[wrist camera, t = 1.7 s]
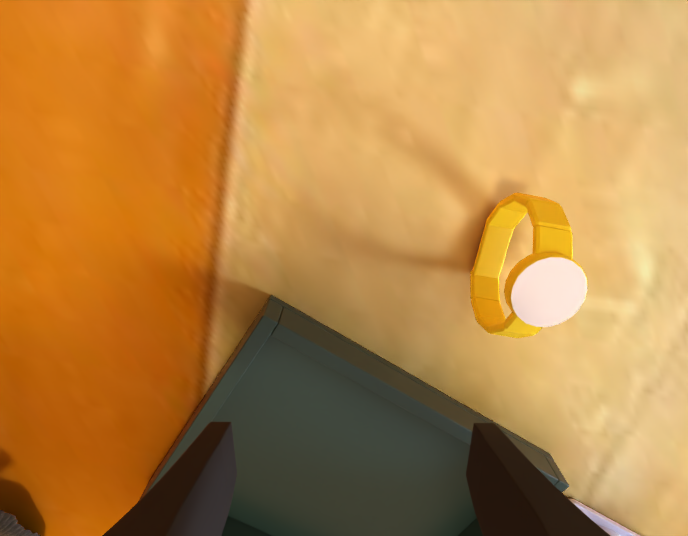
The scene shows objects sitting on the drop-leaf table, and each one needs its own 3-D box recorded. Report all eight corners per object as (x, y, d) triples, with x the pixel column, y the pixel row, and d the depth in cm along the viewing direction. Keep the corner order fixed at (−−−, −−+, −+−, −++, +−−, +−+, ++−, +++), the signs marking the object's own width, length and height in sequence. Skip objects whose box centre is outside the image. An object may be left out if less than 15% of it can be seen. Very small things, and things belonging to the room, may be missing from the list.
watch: (499, 304, 21) (554, 373, 16) (447, 296, 21) (485, 362, 16) (539, 191, 19) (620, 224, 14) (482, 180, 19) (540, 209, 13)
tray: (550, 454, 25) (570, 486, 23) (399, 592, 30) (404, 630, 27) (271, 294, 21) (263, 314, 19) (148, 482, 26) (130, 516, 23)
